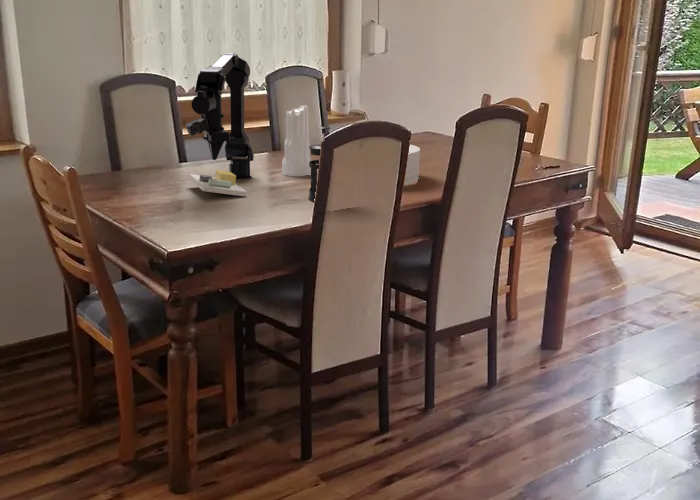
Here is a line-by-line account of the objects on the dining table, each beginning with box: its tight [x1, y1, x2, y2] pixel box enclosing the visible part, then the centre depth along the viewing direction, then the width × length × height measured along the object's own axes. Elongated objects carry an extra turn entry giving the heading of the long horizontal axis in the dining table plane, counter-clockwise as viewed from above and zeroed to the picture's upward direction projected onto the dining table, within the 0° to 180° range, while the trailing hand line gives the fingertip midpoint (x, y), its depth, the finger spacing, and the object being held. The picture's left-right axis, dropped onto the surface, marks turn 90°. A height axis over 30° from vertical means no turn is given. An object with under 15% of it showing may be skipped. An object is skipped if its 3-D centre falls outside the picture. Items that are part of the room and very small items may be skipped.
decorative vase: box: [281, 104, 312, 177], centre depth 281 cm, size 11×11×25 cm
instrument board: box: [188, 169, 248, 197], centre depth 253 cm, size 14×20×4 cm
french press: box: [308, 125, 331, 203], centre depth 243 cm, size 12×9×23 cm
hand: (214, 159), depth 249 cm, fingers closed
